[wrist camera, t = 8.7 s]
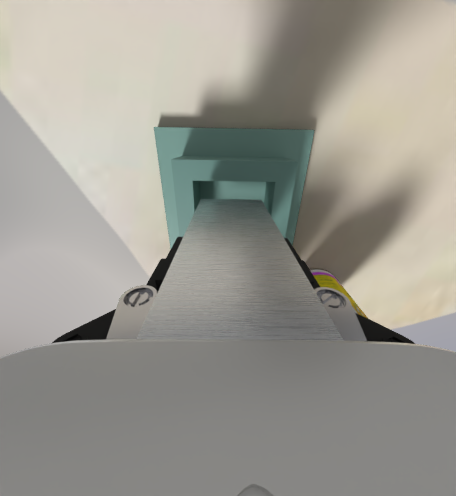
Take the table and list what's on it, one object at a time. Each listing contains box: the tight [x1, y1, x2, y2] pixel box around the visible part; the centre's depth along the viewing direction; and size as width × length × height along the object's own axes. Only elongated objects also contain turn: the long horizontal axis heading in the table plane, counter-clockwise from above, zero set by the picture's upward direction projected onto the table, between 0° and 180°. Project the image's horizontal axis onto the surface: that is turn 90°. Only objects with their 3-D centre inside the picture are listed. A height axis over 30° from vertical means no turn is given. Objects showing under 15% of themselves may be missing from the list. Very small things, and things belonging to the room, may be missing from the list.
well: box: [154, 127, 314, 248], centre depth 19 cm, size 14×14×5 cm
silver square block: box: [137, 199, 344, 341], centre depth 10 cm, size 4×4×13 cm
